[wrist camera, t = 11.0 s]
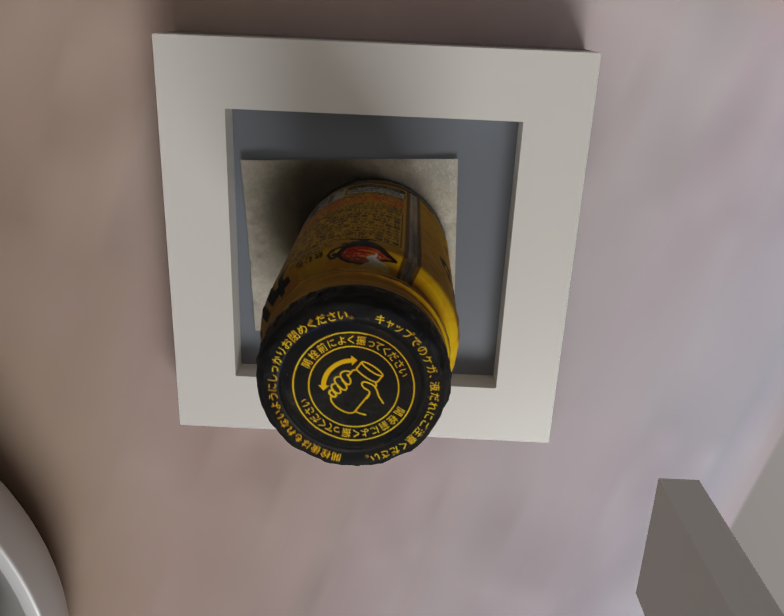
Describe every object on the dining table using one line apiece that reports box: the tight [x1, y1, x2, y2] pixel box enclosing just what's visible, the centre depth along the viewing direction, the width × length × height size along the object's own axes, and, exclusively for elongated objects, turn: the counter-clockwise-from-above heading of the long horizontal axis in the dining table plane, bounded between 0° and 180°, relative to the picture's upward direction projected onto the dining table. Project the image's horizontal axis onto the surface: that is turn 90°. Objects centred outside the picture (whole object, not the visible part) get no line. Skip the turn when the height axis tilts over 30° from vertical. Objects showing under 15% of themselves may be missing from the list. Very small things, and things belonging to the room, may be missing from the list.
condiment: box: [241, 159, 460, 466], centre depth 25 cm, size 7×8×12 cm
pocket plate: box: [152, 32, 601, 443], centre depth 31 cm, size 16×16×3 cm
